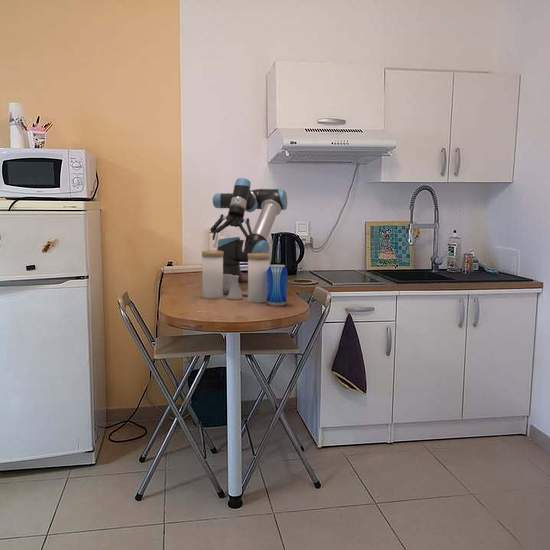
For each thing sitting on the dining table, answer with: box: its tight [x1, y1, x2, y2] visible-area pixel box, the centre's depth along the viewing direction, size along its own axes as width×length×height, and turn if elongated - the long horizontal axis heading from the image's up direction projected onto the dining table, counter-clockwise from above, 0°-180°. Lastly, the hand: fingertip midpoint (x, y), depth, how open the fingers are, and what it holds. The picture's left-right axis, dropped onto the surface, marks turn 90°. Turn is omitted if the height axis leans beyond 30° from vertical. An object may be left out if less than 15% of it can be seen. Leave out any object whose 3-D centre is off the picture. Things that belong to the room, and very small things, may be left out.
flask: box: [226, 275, 244, 301], centre depth 234 cm, size 7×7×10 cm
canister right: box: [247, 252, 271, 304], centre depth 229 cm, size 9×9×20 cm
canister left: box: [201, 250, 224, 300], centre depth 237 cm, size 9×9×20 cm
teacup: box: [223, 274, 233, 293], centre depth 252 cm, size 14×11×8 cm
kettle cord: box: [223, 292, 248, 298], centre depth 241 cm, size 25×1×1 cm, turn 67°
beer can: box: [266, 264, 288, 307], centre depth 222 cm, size 8×8×16 cm
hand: (228, 248), depth 251 cm, fingers open, 13 cm apart
